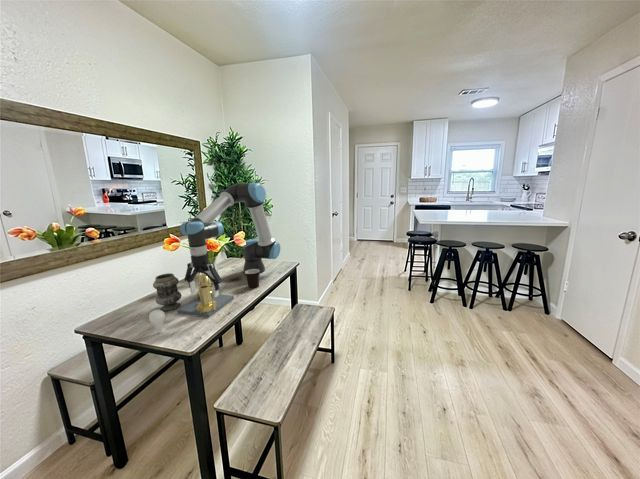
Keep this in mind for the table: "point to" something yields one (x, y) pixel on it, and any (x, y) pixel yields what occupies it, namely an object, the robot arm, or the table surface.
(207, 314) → the carrier plate
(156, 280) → the apothecary jar
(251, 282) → the coffee mug
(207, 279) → the seated planet gear
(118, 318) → the table surface
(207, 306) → the gear
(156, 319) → the lightbulb
